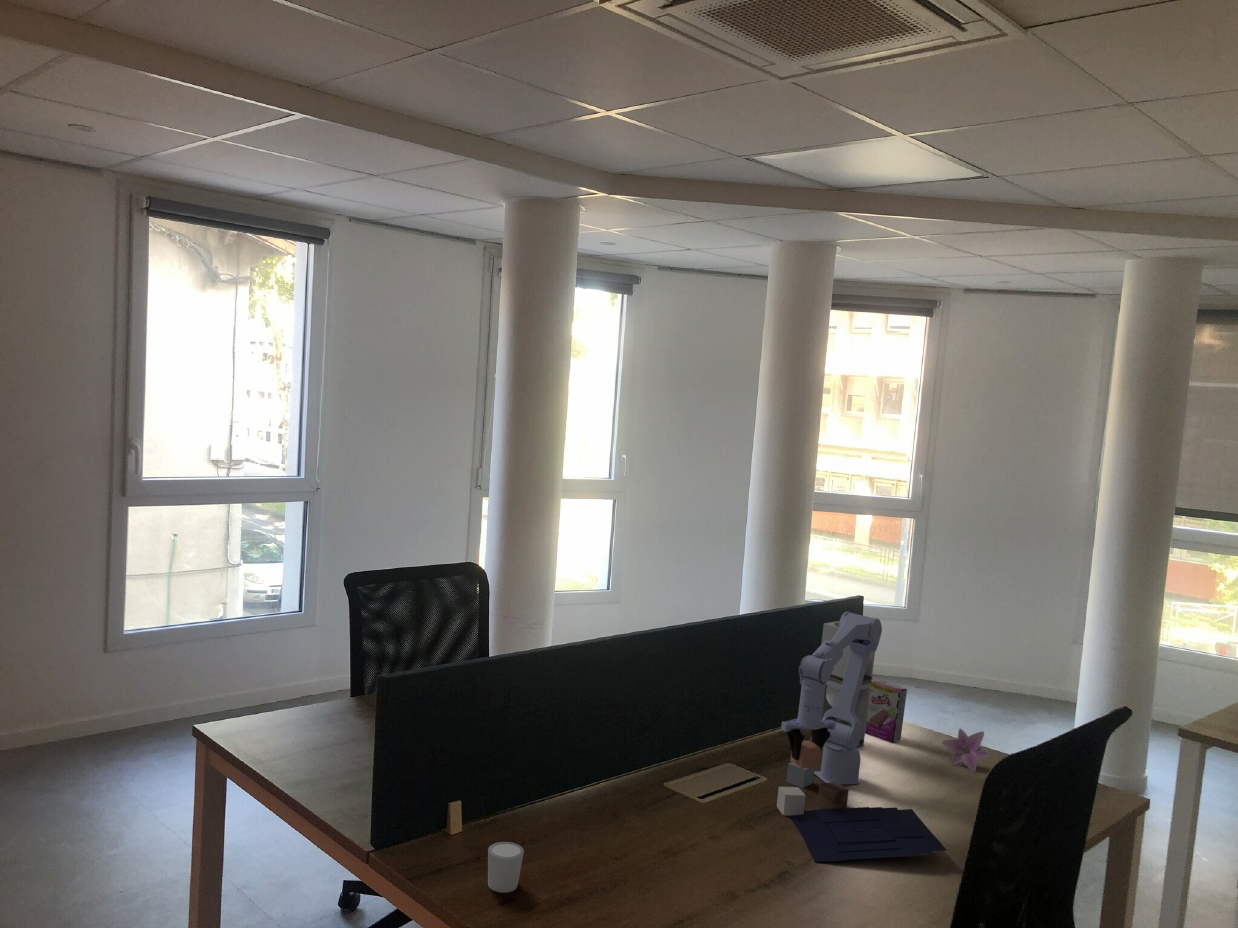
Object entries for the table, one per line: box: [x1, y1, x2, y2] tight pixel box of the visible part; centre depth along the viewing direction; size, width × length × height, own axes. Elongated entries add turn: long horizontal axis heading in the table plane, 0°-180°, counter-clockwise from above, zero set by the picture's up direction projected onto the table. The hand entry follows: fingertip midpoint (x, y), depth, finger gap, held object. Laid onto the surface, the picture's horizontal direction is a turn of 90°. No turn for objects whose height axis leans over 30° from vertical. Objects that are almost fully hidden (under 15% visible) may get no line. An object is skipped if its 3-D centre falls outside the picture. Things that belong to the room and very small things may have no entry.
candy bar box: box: [865, 678, 908, 744], centre depth 290 cm, size 11×5×16 cm, turn 46°
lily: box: [941, 728, 991, 772], centre depth 274 cm, size 12×12×10 cm
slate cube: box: [785, 761, 815, 789], centre depth 248 cm, size 5×5×5 cm
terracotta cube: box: [789, 739, 822, 769], centre depth 237 cm, size 5×5×5 cm
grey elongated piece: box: [809, 620, 876, 749], centre depth 279 cm, size 11×11×35 cm
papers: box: [789, 806, 948, 863], centre depth 218 cm, size 24×30×4 cm
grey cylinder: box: [487, 841, 525, 894], centre depth 183 cm, size 7×7×7 cm
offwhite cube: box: [776, 786, 806, 817], centre depth 229 cm, size 5×5×5 cm
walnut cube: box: [816, 781, 850, 809], centre depth 235 cm, size 5×5×5 cm
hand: (804, 757), depth 237 cm, fingers closed on terracotta cube, 5 cm apart
